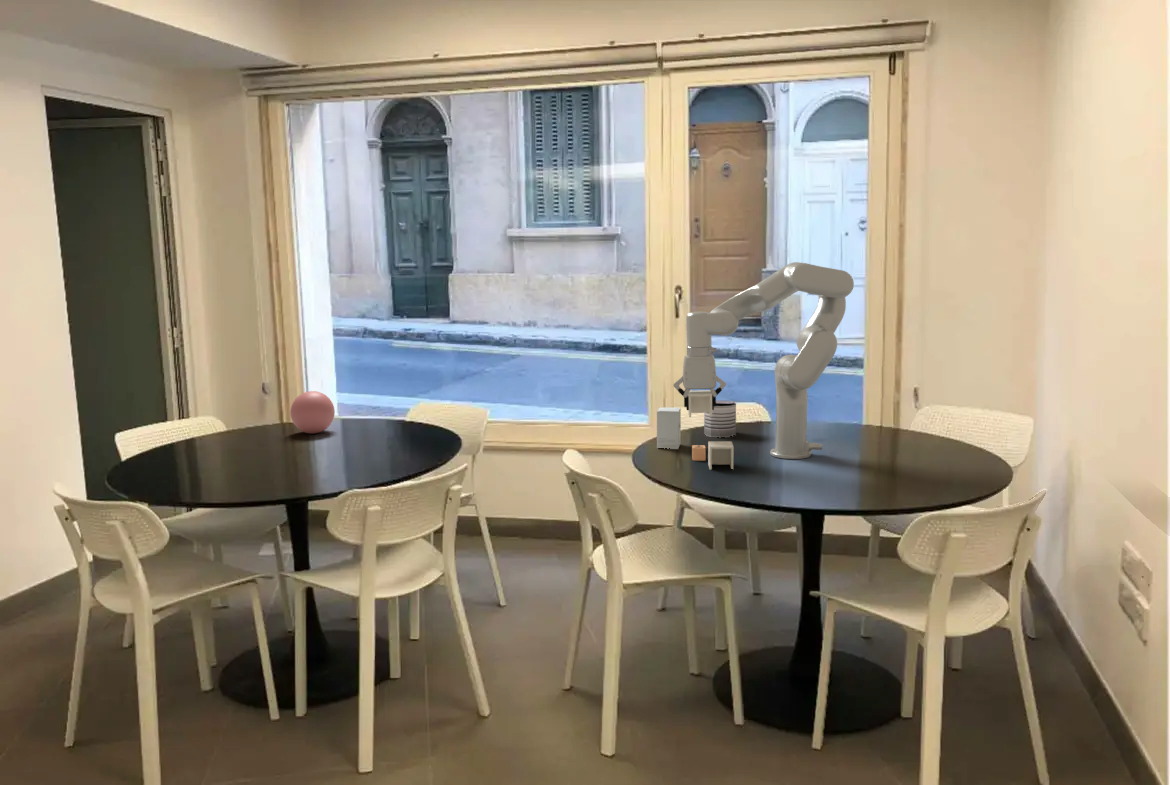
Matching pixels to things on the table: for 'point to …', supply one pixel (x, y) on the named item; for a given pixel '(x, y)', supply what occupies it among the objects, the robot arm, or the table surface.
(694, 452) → the letter cube
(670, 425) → the supplement box
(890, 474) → the table surface
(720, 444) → the plain off-white cube
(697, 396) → the large plain cream block
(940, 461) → the table surface
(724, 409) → the can
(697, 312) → the robot arm
